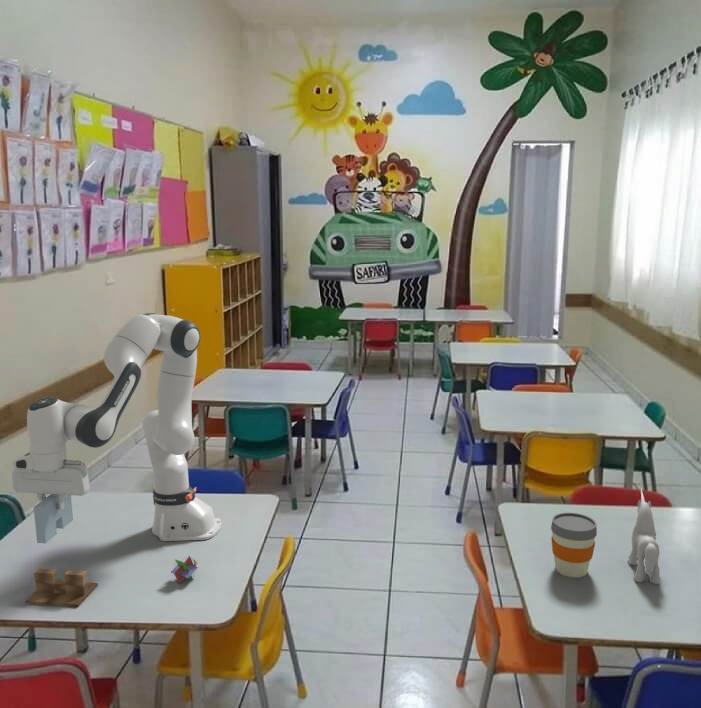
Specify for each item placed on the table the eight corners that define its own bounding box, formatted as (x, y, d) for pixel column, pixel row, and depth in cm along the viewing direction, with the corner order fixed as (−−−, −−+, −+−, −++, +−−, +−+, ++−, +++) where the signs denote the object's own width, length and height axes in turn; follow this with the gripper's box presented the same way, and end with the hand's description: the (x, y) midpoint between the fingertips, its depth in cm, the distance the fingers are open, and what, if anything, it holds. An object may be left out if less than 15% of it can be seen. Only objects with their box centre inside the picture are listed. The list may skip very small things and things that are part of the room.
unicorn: (649, 548, 217) (654, 488, 212) (664, 592, 193) (670, 524, 189) (623, 546, 218) (627, 485, 214) (635, 588, 195) (640, 521, 190)
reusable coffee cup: (540, 568, 206) (542, 520, 203) (564, 554, 214) (567, 508, 210) (578, 585, 196) (581, 536, 193) (602, 570, 204) (606, 522, 201)
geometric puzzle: (179, 584, 195) (190, 556, 197) (162, 578, 198) (173, 550, 201) (195, 589, 200) (206, 561, 203) (177, 582, 204) (188, 555, 207)
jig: (97, 585, 199) (95, 563, 197) (78, 607, 188) (76, 584, 187) (47, 582, 201) (45, 560, 199) (25, 603, 190) (23, 580, 189)
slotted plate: (65, 519, 197) (61, 485, 195) (73, 520, 197) (70, 486, 195) (37, 542, 184) (33, 507, 182) (45, 543, 184) (42, 507, 181)
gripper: (92, 456, 188) (95, 505, 191) (20, 453, 191) (25, 501, 193) (80, 465, 182) (84, 515, 185) (6, 461, 184) (11, 511, 187)
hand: (53, 508), depth 189 cm, fingers closed on slotted plate, 2 cm apart
